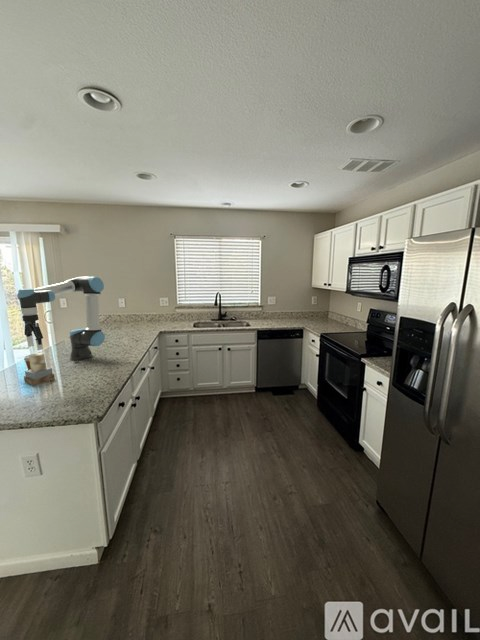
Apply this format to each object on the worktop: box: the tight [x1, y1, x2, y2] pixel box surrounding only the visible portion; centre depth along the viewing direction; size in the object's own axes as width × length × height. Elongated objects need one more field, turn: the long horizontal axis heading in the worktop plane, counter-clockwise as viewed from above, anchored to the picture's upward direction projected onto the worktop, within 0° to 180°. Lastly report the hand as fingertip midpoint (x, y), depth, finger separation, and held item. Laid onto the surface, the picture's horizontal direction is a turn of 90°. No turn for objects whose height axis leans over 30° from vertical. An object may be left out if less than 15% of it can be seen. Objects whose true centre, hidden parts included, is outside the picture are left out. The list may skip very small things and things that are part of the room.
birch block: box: [28, 352, 47, 372], centre depth 163 cm, size 6×6×10 cm
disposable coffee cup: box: [23, 354, 31, 370], centre depth 178 cm, size 10×10×12 cm
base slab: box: [23, 373, 56, 387], centre depth 166 cm, size 12×12×4 cm
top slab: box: [24, 366, 54, 380], centre depth 165 cm, size 10×10×4 cm
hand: (35, 348), depth 161 cm, fingers open, 13 cm apart
